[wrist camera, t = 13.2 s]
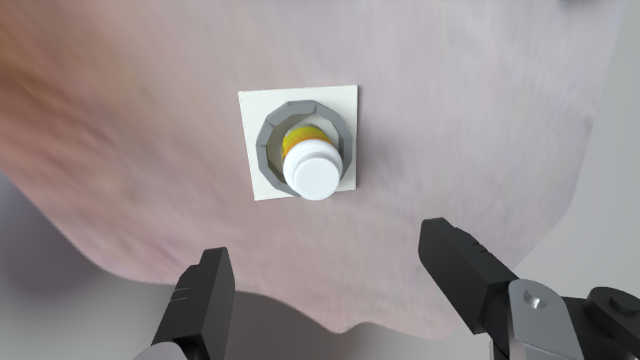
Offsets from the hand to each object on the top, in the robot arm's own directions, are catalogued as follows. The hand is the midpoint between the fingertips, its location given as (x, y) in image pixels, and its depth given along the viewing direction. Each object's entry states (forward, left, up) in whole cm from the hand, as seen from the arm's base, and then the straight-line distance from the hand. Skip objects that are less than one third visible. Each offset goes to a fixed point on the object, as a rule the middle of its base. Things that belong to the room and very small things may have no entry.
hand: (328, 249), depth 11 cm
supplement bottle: (+2, +1, -22) cm, 22 cm away
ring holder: (+2, +1, -23) cm, 23 cm away
